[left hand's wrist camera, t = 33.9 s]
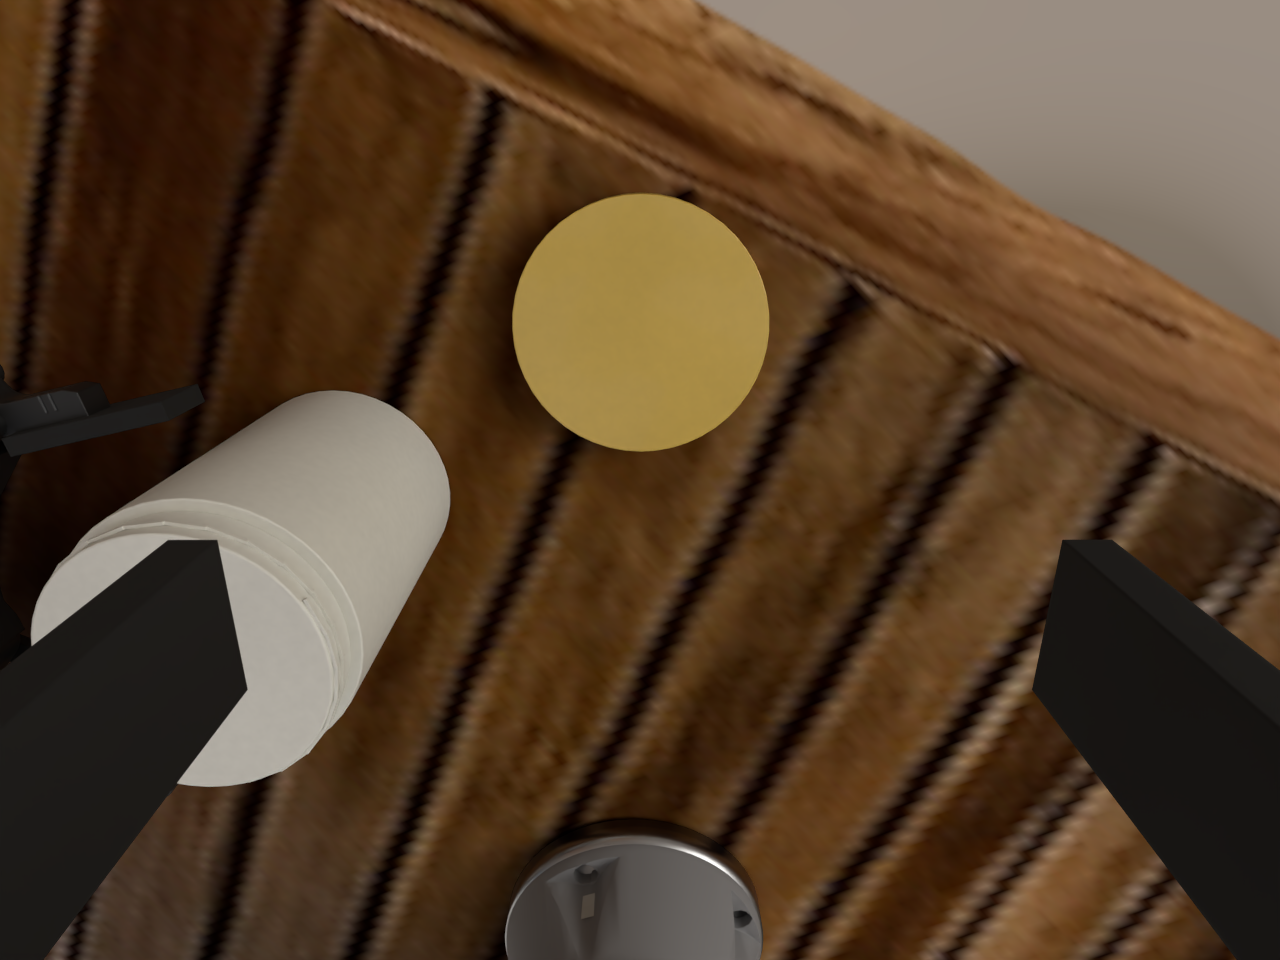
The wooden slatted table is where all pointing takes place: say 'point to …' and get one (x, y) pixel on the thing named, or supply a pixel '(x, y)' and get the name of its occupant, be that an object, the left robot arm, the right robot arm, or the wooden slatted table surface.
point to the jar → (285, 562)
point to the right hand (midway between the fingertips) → (252, 554)
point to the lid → (640, 322)
